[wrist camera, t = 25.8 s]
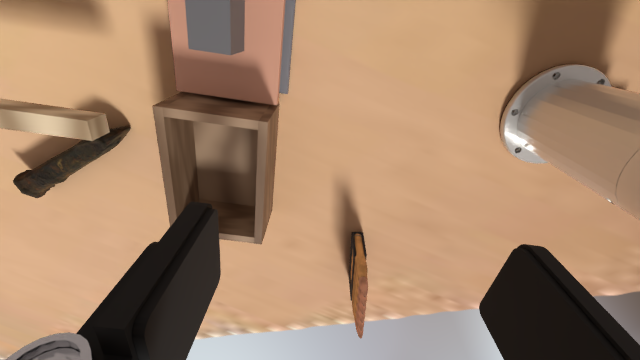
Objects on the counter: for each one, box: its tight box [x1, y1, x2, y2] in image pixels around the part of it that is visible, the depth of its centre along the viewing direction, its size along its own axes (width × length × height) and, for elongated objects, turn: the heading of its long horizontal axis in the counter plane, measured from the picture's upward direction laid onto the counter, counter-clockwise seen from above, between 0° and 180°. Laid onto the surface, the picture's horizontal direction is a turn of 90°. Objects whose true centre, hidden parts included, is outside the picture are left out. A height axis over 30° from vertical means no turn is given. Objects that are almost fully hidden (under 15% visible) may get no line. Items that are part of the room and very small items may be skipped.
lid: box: [168, 0, 285, 105], centre depth 29 cm, size 12×17×7 cm
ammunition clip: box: [349, 232, 368, 338], centre depth 44 cm, size 11×2×12 cm, turn 0°
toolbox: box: [153, 92, 279, 244], centre depth 37 cm, size 12×17×8 cm
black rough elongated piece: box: [13, 126, 131, 198], centre depth 40 cm, size 19×4×5 cm, turn 115°
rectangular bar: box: [0, 99, 110, 141], centre depth 28 cm, size 14×2×2 cm, turn 82°
